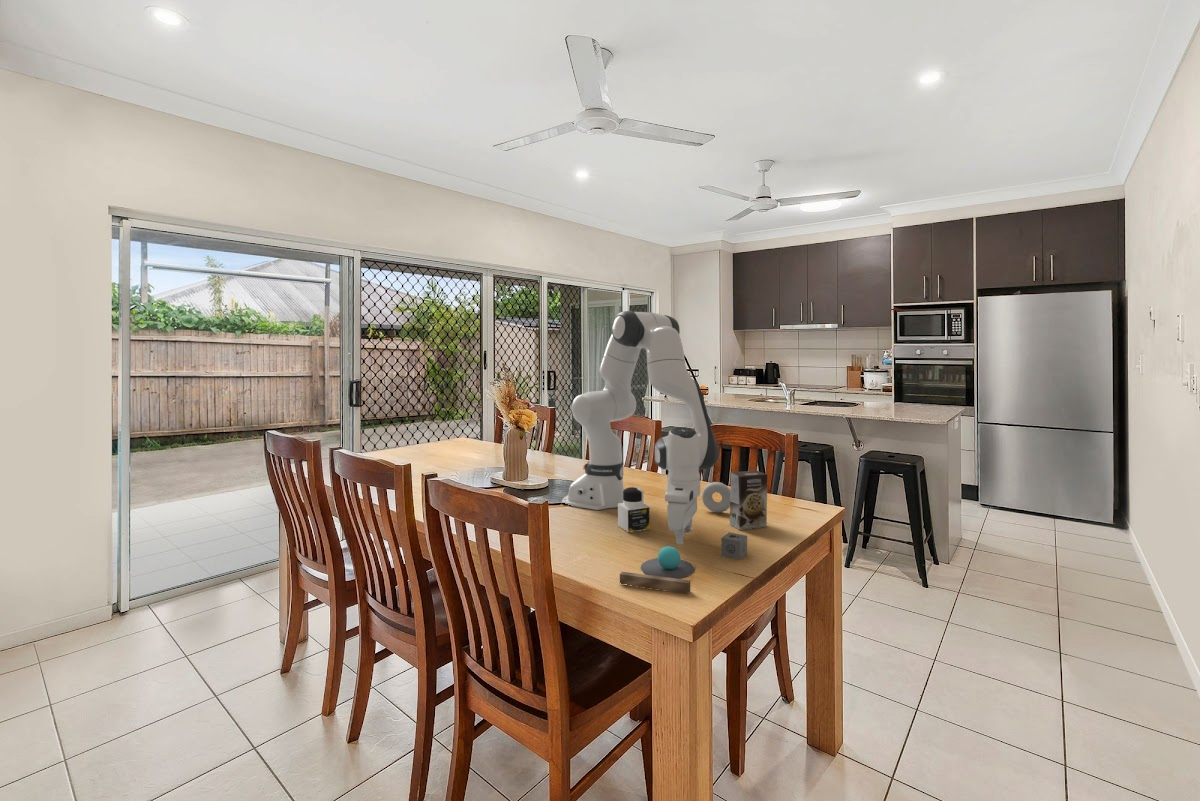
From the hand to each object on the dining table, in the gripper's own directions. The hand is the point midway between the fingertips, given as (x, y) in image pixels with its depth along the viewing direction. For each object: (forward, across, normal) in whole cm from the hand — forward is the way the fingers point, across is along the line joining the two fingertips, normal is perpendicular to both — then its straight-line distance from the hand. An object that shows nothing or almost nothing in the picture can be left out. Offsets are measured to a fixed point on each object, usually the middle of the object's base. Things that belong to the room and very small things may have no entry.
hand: (684, 537), depth 159 cm
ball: (-1, +18, 0) cm, 18 cm away
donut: (+2, -32, +4) cm, 32 cm away
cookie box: (+2, -21, +15) cm, 26 cm away
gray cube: (+2, +4, +14) cm, 15 cm away
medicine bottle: (+2, -9, -17) cm, 19 cm away
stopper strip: (+2, +30, 0) cm, 30 cm away
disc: (+2, +18, 0) cm, 18 cm away
